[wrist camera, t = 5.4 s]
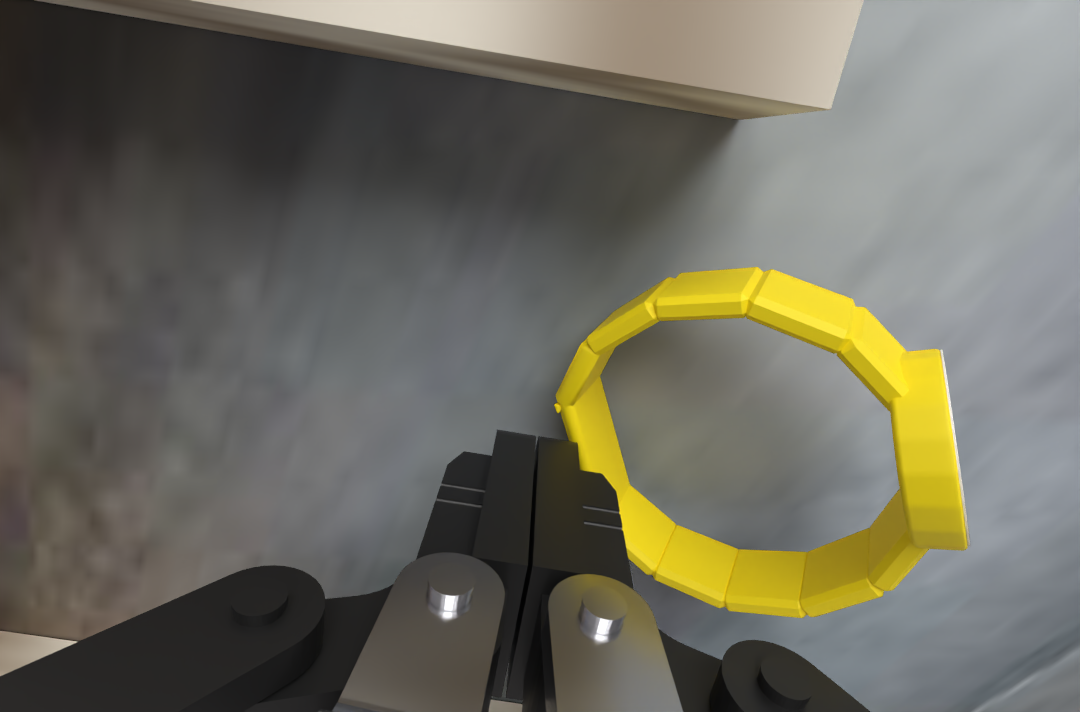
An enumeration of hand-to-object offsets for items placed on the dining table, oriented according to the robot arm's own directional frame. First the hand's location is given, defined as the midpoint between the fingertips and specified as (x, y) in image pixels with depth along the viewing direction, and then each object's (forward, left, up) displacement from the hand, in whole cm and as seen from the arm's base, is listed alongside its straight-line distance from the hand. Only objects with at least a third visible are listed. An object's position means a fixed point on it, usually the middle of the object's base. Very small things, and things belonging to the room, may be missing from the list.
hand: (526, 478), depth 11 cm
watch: (-1, 0, -1) cm, 1 cm away
